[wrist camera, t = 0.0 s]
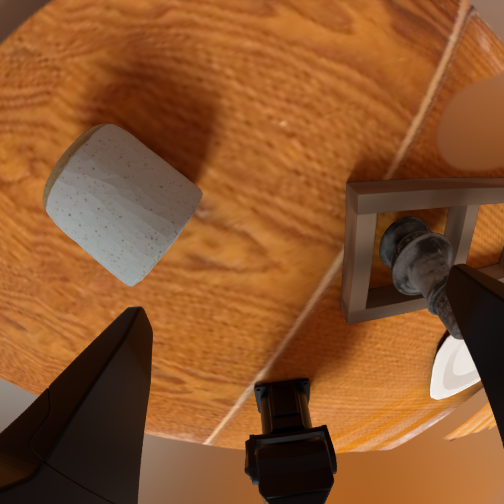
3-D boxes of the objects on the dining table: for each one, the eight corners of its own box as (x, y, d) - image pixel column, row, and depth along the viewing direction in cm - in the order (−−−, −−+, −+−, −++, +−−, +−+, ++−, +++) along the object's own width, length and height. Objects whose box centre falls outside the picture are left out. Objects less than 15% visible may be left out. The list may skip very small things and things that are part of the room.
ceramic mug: (120, 107, 18) (65, 127, 11) (210, 177, 21) (197, 228, 15) (57, 214, 22) (8, 267, 15) (132, 269, 25) (104, 336, 18)
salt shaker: (395, 281, 27) (453, 381, 17) (363, 245, 25) (430, 354, 14) (440, 241, 25) (516, 328, 15) (414, 199, 23) (507, 287, 12)
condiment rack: (502, 272, 28) (513, 284, 26) (339, 306, 28) (347, 324, 26) (527, 178, 21) (542, 187, 19) (346, 182, 22) (358, 194, 20)
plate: (430, 326, 32) (436, 336, 30) (543, 261, 28) (550, 267, 27) (423, 401, 43) (426, 409, 41) (516, 348, 39) (520, 355, 38)
